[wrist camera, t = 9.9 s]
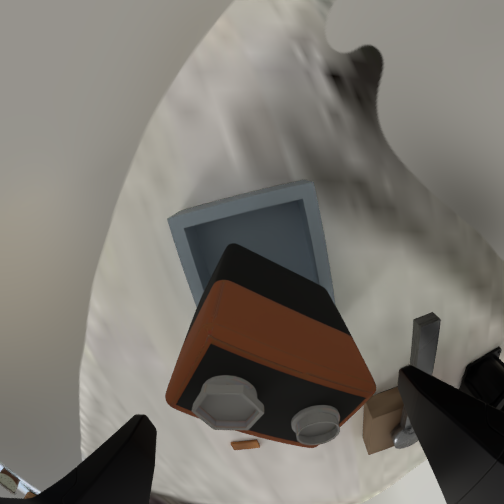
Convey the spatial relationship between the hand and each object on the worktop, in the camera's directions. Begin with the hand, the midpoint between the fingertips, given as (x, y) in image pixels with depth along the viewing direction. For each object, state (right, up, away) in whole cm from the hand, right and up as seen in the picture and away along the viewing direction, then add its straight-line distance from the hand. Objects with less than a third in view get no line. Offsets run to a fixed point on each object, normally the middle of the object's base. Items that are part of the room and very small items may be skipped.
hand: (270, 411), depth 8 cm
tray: (0, +4, +12) cm, 12 cm away
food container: (-108, -95, +43) cm, 150 cm away
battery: (0, +3, +9) cm, 10 cm away
